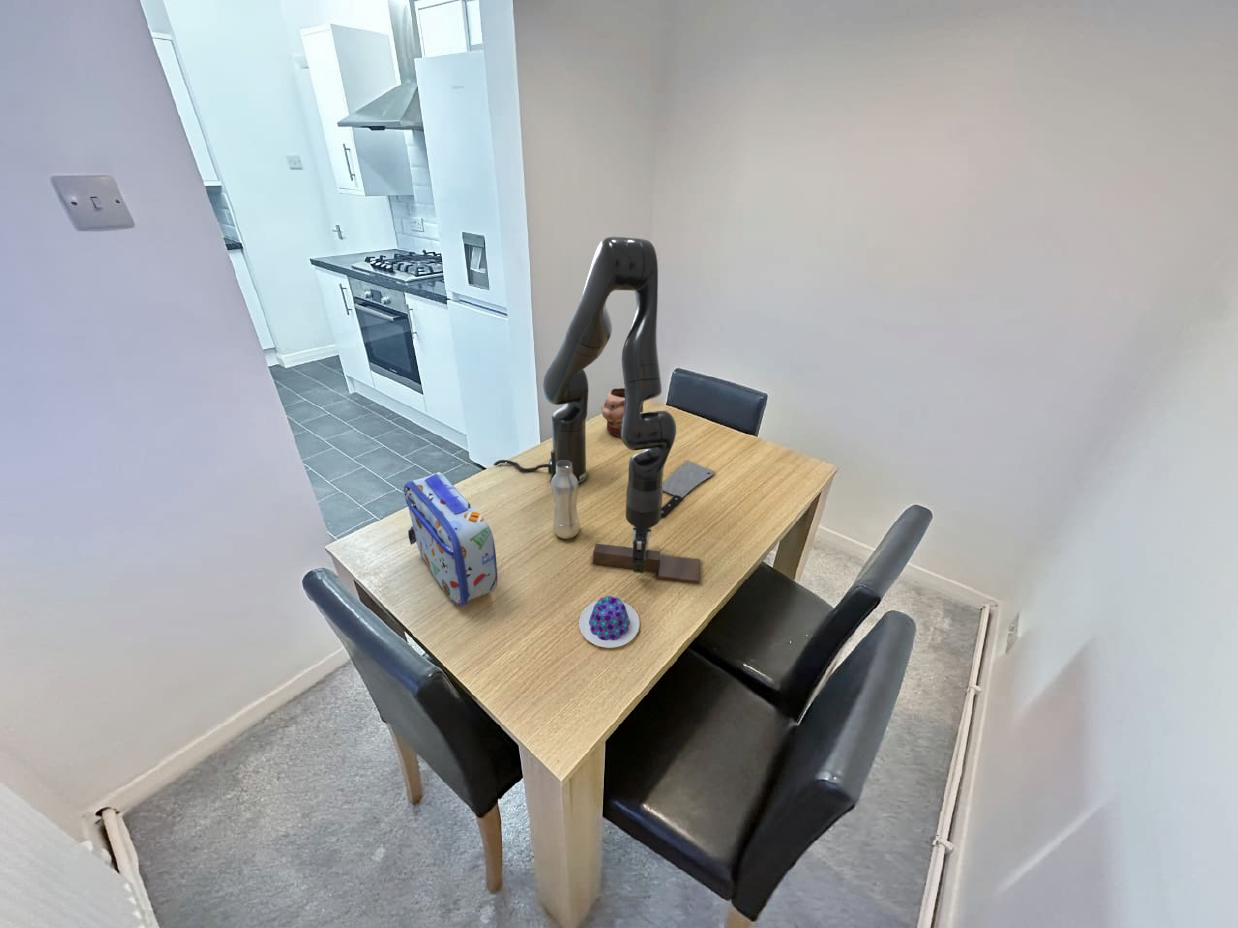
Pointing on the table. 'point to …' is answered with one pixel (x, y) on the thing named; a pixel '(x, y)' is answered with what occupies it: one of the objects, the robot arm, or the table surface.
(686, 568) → the spatula
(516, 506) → the table surface
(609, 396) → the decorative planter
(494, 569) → the lunch box
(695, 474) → the cleaver
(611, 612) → the pudding
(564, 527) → the plastic bottle
